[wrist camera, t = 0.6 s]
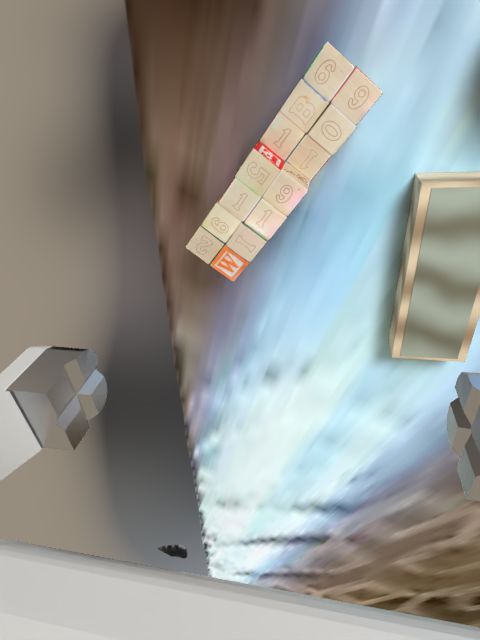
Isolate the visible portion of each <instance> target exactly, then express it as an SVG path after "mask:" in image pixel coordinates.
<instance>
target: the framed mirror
mask: <svg viewBox="0 0 480 640" xmlns="http://www.w3.org/2000/svg"><path fill="white" fill-rule="evenodd" d="M479 315H480V171H473V172H445V173H417V174H415V179H414V185H413V191H412V198H411V204H410V210H409V216H408V222H407V228H406V234H405V241H404V247H403V253H402V259H401V265H400V271H399V278H398V284H397V290H396V296H395V302H394V308H393V315H392V321H391V327H390V333H389V339H388V341H389V347H390V352H391V357H392V358H406V359H423V360H440V361H457V362H465V360H466V357H467V353H468V350H469V347H470V344H471V341H472V337H473V334H474V331H475V328H476V325H477V321H478V318H479Z"/></svg>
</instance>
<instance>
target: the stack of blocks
mask: <svg viewBox="0 0 480 640" xmlns="http://www.w3.org/2000/svg"><path fill="white" fill-rule="evenodd" d="M382 94H383V92H382V91H381V90H380V89H379V88H378V87H377V86H376V85H375V84H374V83H373V82H372V81H371V80H370V79H369V78H368V77H367V76H366V75H365V74H364V73H363V72H362V71H361V70H360V69H359V68H358V67H357V66H354V65H353V64H352V63H351V62H350V61H348V60H347V59H346V58H345V57H344V56H343V55H342V54H341V53H340V52H339V51H338V50H336V49H335V48H334V47H333V46H332V45H331V44H330V43H329V42H326V43H325V45H324V46H323V48H322V49H321V51H320V52H319V54H318V55H317V57H316V58H315V60H314V61H313V63H312V64H311V66H310V67H309V69H308V70H307V72H306V73H305V75H304V76H303V78H302V79H301V80H300V81H299V83H298V84H297V86H296V87H295V89H294V90H293V92H292V93H291V95H290V96H289V98H288V99H287V101H286V102H285V103H284V105H283V106H282V108H281V109H280V111H279V112H278V114H277V115H276V117H275V118H274V120H273V121H272V123H271V124H270V126H269V127H268V129H267V130H266V132H265V133H264V135H263V136H262V138H261V139H260V141H259V142H258V143H257V144H256V145H255V147H254V148H253V149H252V151H251V152H250V154H249V155H248V157H247V159H246V160H245V162H244V163H243V165H242V166H241V168H240V169H239V171H238V172H237V174H236V175H235V178H234V180H233V181H232V183H231V184H230V186H229V187H228V188H227V189H226V191H225V192H224V193H223V194H222V196H221V197H220V199H219V200H218V201H217V203H216V204H215V205H214V207H213V208H212V210H211V211H210V213H209V214H208V216H207V217H206V218H205V220H204V221H203V223H202V224H201V225H200V227H199V228H198V230H197V231H196V232H195V234H194V235H193V237H192V238H191V240H190V241H189V242H188V244H187V245H186V248H187V249H188V250H190V251H191V252H192V253H194V254H195V255H196V256H198V257H199V258H201V259H202V260H203V261H204V262H206V263H207V264H210V265H211V266H212V267H213V268H214V269H216V270H217V271H218V272H220V273H221V274H223V275H224V276H225V277H227V278H228V279H230V280H231V281H233V282H234V281H235V280H236V278H237V277H238V276H239V275H240V273H241V272H242V271H243V270H244V269H245V267H246V266H247V265H248V264H249V262H251V261H252V260H253V258H254V257H255V256H256V255H257V253H258V252H259V251H260V250H261V248H262V247H263V246H264V245H265V243H266V242H267V240H269V239H271V237H272V236H273V235H274V233H275V232H276V231H277V230H278V228H279V227H280V226H281V225H282V223H283V222H284V221H285V220H286V218H287V216H288V215H289V214H290V213H291V212H292V210H293V209H294V208H295V207H296V205H297V204H298V203H299V202H300V200H301V199H302V198H303V197H304V195H305V194H306V193H307V192H308V188H309V184H310V181H311V180H312V179H313V178H314V176H315V175H316V174H317V173H318V172H319V170H320V169H321V168H322V167H323V166H324V164H325V163H326V162H327V161H328V160H329V158H330V157H331V156H333V155H334V154H335V153H336V152H337V151H338V149H339V148H340V147H341V146H342V145H343V144H344V142H345V141H346V140H347V139H348V137H349V136H350V135H351V134H352V132H353V131H354V130H355V129H356V128H357V124H358V123H359V122H360V121H361V119H362V118H363V117H364V116H365V115H366V113H367V112H368V111H369V110H370V108H371V107H372V106H373V105H374V104H375V102H376V101H377V100H378V99H379V98H380V96H381V95H382Z"/></svg>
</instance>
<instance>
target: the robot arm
mask: <svg viewBox="0 0 480 640" xmlns="http://www.w3.org/2000/svg"><path fill="white" fill-rule="evenodd" d="M98 363H99V362H98V360H97V357H96V355H95V353H94V352H93V351H91V350H89V349H79V348H66V347H55V346H53V347H50V346H40V345H35V346H32V347H29V348H28V349H27V350H25V351H24V352H23V353H22V354H21V355H20V356H19V357H18V358H17V359H16V360H15V361H14V362H13V363H12V364H11V365H9V366H8V367H7V368H6V369H5V370H4V371H3V372H2V373H1V374H0V480H2V479H3V478H4V477H6V476H7V475H8V474H10V473H11V472H12V471H14V470H15V469H16V468H18V467H19V466H21V465H22V464H23V463H24V462H26V461H27V460H29V459H30V458H31V457H32V456H34V455H35V454H37V453H38V452H39V451H41V450H42V449H41V447H43V448H52V449H64V450H75V448H76V447H77V445H78V444H79V442H80V441H81V439H82V438H83V436H84V435H85V434H86V432H87V430H88V429H89V423H88V420H89V419H91V418H93V417H94V416H96V415H97V414H99V412H100V411H101V409H102V407H103V406H104V404H105V400H106V396H107V384H106V382H105V378H104V376H103V375H101V374H100V373H99V372H98V371H97V370H96V368H97V365H98ZM455 389H456V391H457V394H458V398H457V399H455V400H454V401H453V402H451V403H450V406H449V410H448V414H447V434H448V439H449V443H450V446H451V449H452V450H453V451H454V452H455V453H456V454H457V455H458V456H459V457H461V458H460V461H459V464H458V467H457V470H458V473H459V476H460V480H461V483H462V486H463V489H464V492H465V496H466V499H468V500H475V501H480V373H467V372H462V373H461V374H460V375H459V377H458V379H457V382H456V385H455ZM0 640H480V628H479V627H474V626H469V625H463V624H458V623H453V622H447V621H442V620H437V619H431V618H426V617H421V616H415V615H410V614H405V613H399V612H394V611H389V610H383V609H378V608H373V607H367V606H362V605H357V604H351V603H346V602H341V601H335V600H330V599H325V598H319V597H314V596H309V595H303V594H298V593H293V592H287V591H282V590H277V589H271V588H266V587H261V586H255V585H250V584H245V583H239V582H234V581H229V580H223V579H218V578H213V577H207V576H201V575H196V574H191V573H186V572H180V571H175V570H169V569H164V568H159V567H153V566H148V565H143V564H138V563H132V562H127V561H121V560H116V559H111V558H105V557H100V556H95V555H89V554H84V553H78V552H73V551H68V550H62V549H57V548H52V547H46V546H41V545H36V544H30V543H25V542H20V541H14V540H8V539H3V538H0Z"/></svg>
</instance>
